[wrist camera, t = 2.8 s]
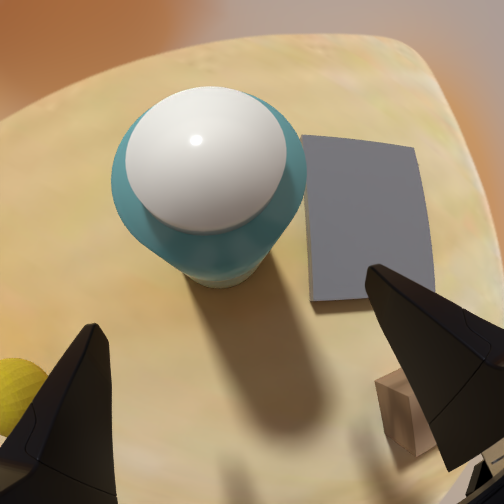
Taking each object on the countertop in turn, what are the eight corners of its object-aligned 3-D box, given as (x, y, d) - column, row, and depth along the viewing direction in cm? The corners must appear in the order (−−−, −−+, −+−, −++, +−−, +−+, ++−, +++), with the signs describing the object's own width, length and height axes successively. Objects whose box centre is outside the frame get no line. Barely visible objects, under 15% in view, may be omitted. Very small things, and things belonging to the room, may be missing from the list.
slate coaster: (428, 292, 21) (435, 292, 20) (309, 301, 20) (313, 300, 19) (408, 152, 23) (413, 147, 22) (298, 141, 22) (301, 134, 21)
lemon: (34, 338, 18) (-36, 345, 10) (84, 384, 18) (23, 415, 10) (14, 387, 17) (-48, 406, 9) (61, 432, 17) (6, 470, 9)
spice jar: (265, 287, 20) (324, 258, 7) (174, 288, 20) (87, 259, 7) (262, 201, 21) (303, 72, 8) (176, 202, 21) (119, 76, 8)
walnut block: (433, 406, 20) (470, 421, 15) (384, 433, 19) (416, 457, 14) (425, 354, 20) (465, 362, 15) (373, 380, 20) (408, 396, 15)
